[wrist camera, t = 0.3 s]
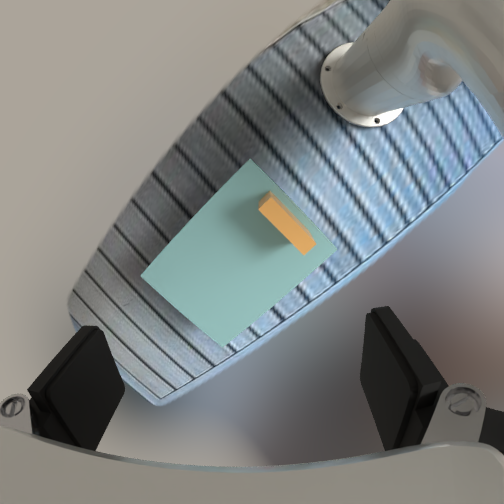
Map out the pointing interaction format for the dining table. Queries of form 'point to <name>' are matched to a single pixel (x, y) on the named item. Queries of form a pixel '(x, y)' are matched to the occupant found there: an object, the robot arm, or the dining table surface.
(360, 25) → the dining table surface
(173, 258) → the lid
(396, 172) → the dining table surface
